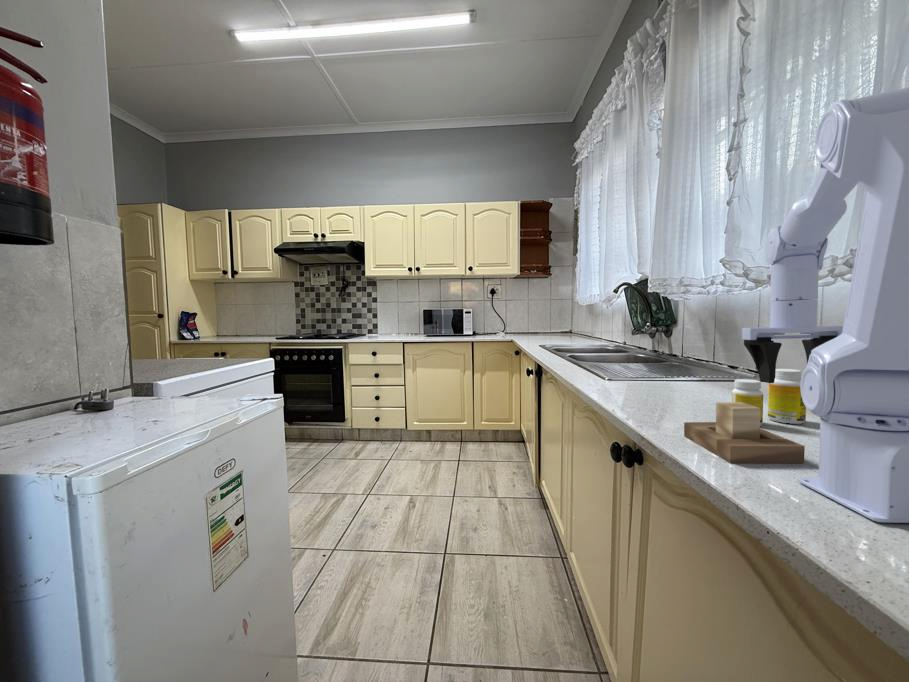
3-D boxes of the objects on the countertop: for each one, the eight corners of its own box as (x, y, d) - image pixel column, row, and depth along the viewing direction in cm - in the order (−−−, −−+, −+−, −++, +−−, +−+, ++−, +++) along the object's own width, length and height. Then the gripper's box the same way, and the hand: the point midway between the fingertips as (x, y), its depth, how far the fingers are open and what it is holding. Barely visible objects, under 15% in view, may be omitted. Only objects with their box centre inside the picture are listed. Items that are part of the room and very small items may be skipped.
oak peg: (759, 452, 55) (760, 408, 55) (732, 452, 56) (732, 408, 55) (740, 443, 59) (741, 402, 59) (715, 443, 60) (716, 402, 59)
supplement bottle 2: (805, 427, 67) (807, 372, 66) (766, 421, 71) (767, 370, 70) (806, 420, 71) (807, 369, 70) (768, 415, 75) (769, 367, 74)
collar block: (804, 463, 51) (804, 446, 51) (729, 462, 52) (730, 446, 52) (743, 435, 63) (743, 421, 63) (684, 436, 64) (684, 422, 64)
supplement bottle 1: (768, 426, 68) (769, 382, 67) (740, 426, 68) (740, 382, 68) (753, 419, 72) (753, 378, 72) (726, 419, 73) (727, 378, 73)
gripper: (818, 300, 62) (816, 377, 63) (730, 303, 64) (729, 378, 64) (860, 297, 55) (857, 384, 56) (760, 301, 57) (759, 385, 57)
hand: (791, 381), depth 60 cm, fingers open, 7 cm apart
